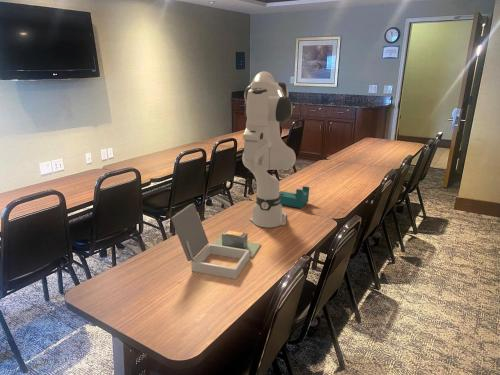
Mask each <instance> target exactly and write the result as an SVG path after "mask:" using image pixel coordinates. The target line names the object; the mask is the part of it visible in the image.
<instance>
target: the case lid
mask: <svg viewBox="0 0 500 375" xmlns="http://www.w3.org/2000/svg"><path fill="white" fill-rule="evenodd" d="M170 219H171V222H172V224H173V226H174V229H175V233H176V234H177V237H178V239H179V242H180V245H181V247H182V250H183V252H184V254H185V257H186V260H187V262H190V261H191V262H192V260H191V257H190V253H189V250H188V247H187V244H186V241H188V243H189V246H190V249H191V253H192V256H193V259H194V258H195V257H196V256H197V255H198V254H199V253H200V252H201V251H202V250H203V249H204V248H205V247H206V246H207V245H208V244H210V243H209V240H208V237H207V235H206V232H205V229H204V227H203V223H202V221H201V219H200V216H199V213H198V211H197V208H196V205H195V202H193V203H191V204H189V205H187V206H186V207H184V208H183V209H182V210H180V211H179V212H178V213H176V214H175V215H173V216H171V218H170Z"/></svg>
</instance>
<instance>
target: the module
mask: <svg viewBox="0 0 500 375" xmlns="http://www.w3.org/2000/svg"><path fill="white" fill-rule="evenodd" d="M221 238H222V246H226V247H233V248H239V249H245V248H246V247H247V242H248V233H246V232H242V231H234V230H228V229H226V230H225V231H224V232H222V233H221Z"/></svg>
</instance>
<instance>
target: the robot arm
mask: <svg viewBox="0 0 500 375" xmlns="http://www.w3.org/2000/svg"><path fill="white" fill-rule="evenodd" d="M289 93H290V92H289V88H288V86H287V84H286V83H285V82H281V81H278V82H276V81H275V79H274V76H273V75H272V73H270V72H269V71H265V70H263V71H260V72H258V73H257V74H256V75H255V76H254V77H253V79H252V81H251V83H250V85H248V86H246V88H245V91H244V93H243V94H244V95H243V97H244V101H245V102H244V105H243V106H244V116H245V117H246V122H245V130H244V132H243V134H242V140H243V141H244V142H243V153H242V155H241V156H242V157H241V159H242V164H243V165H244V167H245V168H247V169H248V170H249V171H250V172H251V173H252V174H253V176H254V178H255V181H256V197H255V204H254V205H252V206H253V208H252V216H251V217H250V218H249V221H250V222H252V223H253V224H254V226H255V225H256V226H258V227H261V228H267V229H268V228H276V227H280V226H286V224H287V213H286V212H284V211H283V205H282V204H281V203H280V194H279V192H280V185H281V184H280V180H279V179H278V178H277V177H275V176H274V175H272V174H269V173H268V171H270V170H271V171H272V170H273V171H274V170H276V171H277V170H278V171H279V170H281V171H282V170H288V169H292V168H293V167H294V165H295V164H296V162H297V161H296V159H297V156H296V153H295V151H294V149H293V148H291V147H290V146H288V145H287V144H286V143H285V142H284V141H283V139H282V136H281V131H280V130H281V128H280V123H286V122H287V121H289V120H290V119H291V117H292V115H293V104H292V103H293V102H292V101H291V99H290V98H289V97H290V96H289Z"/></svg>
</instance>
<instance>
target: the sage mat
mask: <svg viewBox="0 0 500 375" xmlns="http://www.w3.org/2000/svg"><path fill="white" fill-rule="evenodd" d="M212 244H214V245H220V246H222V237H217V239H215V241H214V242H213V243H212ZM261 246H262V244H261V243H257V242H250V241H247V247H246V248H245V250H249V259H254V256H255V255H256V253H258V250H259V249H260V247H261Z"/></svg>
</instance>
